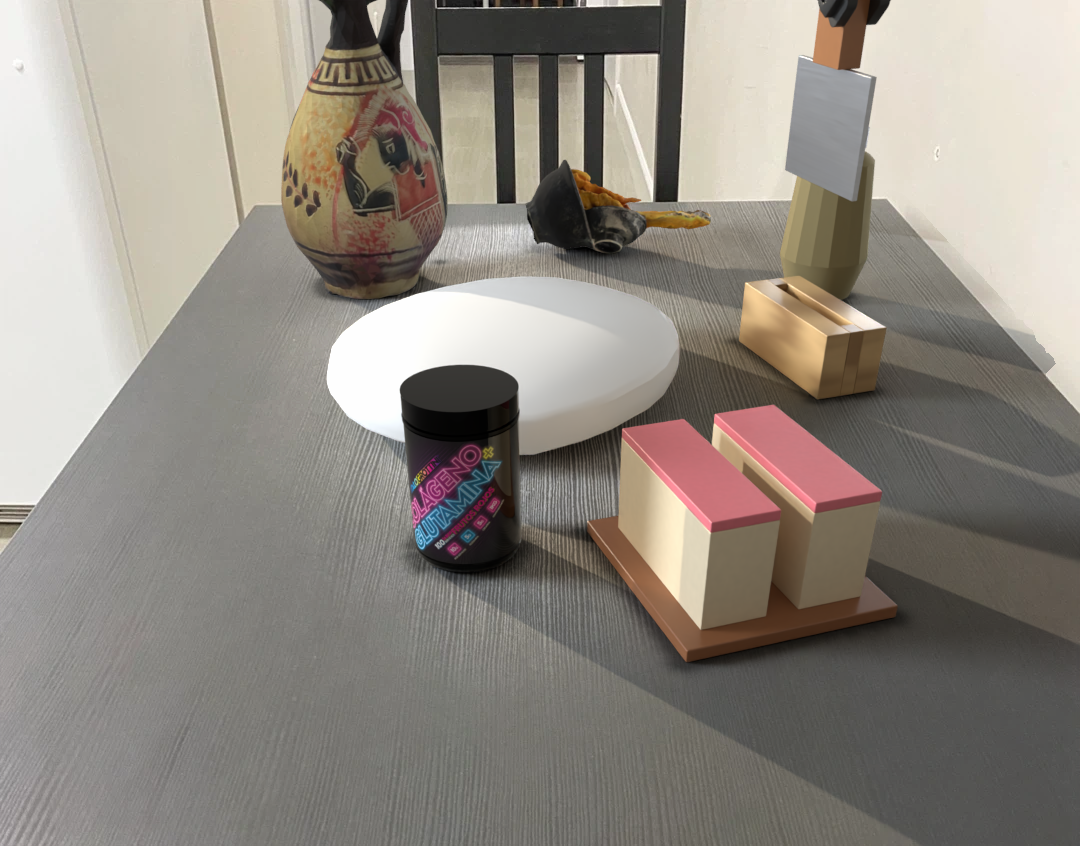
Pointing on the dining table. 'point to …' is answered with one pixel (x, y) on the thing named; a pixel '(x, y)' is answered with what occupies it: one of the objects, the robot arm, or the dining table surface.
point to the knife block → (811, 336)
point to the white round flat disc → (514, 354)
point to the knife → (832, 108)
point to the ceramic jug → (363, 162)
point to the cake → (742, 533)
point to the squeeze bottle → (828, 234)
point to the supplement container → (463, 465)
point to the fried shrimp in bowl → (594, 214)
